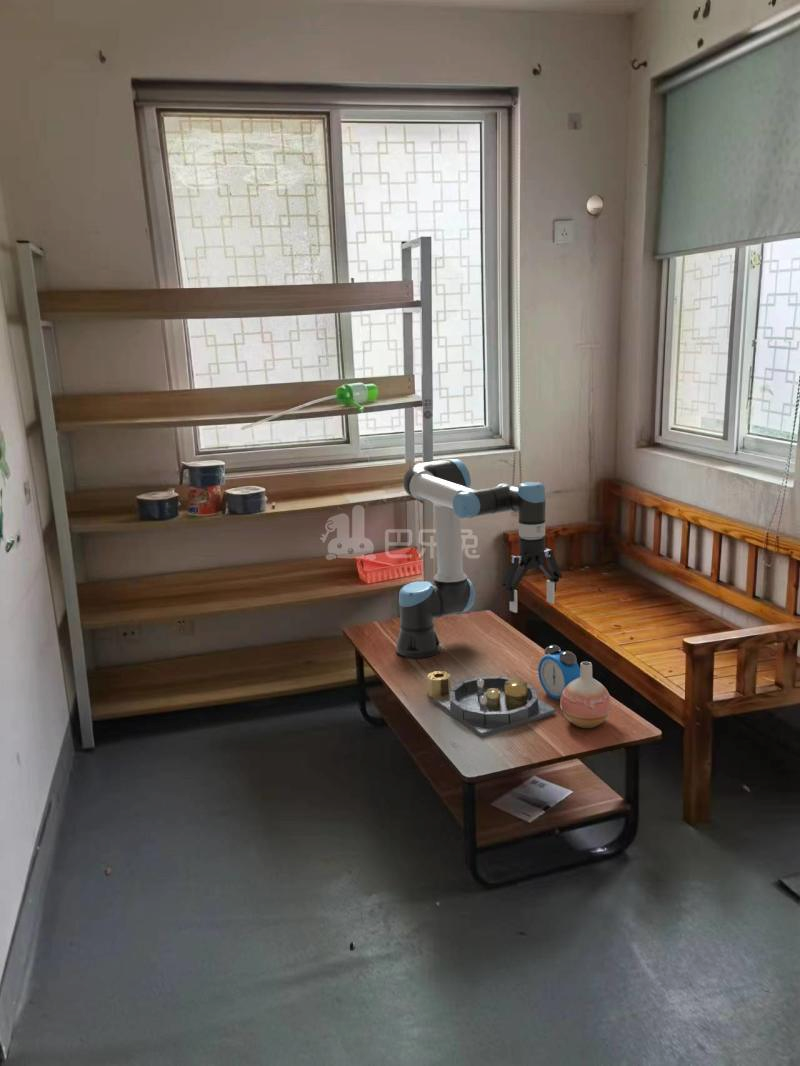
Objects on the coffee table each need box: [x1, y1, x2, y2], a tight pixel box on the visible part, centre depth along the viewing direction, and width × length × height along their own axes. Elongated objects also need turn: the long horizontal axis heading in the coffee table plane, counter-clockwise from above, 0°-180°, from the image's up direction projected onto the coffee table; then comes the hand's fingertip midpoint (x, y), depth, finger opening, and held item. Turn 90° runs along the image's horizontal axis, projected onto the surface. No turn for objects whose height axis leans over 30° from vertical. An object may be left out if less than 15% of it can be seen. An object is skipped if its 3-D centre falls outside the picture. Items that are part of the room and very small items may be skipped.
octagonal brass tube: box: [426, 670, 452, 699], centre depth 241 cm, size 6×6×6 cm
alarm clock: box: [537, 644, 580, 700], centre depth 235 cm, size 13×6×15 cm, turn 30°
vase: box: [559, 660, 613, 729], centre depth 218 cm, size 14×14×18 cm
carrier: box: [433, 675, 557, 738], centre depth 230 cm, size 25×25×8 cm
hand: (532, 606), depth 234 cm, fingers open, 13 cm apart
